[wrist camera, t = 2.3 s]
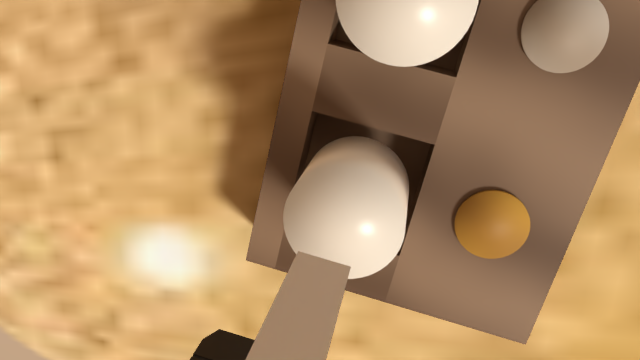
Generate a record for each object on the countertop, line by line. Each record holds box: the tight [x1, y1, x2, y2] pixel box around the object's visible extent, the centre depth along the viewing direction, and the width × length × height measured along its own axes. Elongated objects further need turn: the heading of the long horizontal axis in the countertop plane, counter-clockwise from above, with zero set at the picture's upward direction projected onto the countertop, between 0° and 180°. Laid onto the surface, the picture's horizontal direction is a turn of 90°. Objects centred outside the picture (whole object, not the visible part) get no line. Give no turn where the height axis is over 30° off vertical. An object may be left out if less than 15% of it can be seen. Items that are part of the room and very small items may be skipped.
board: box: [246, 0, 640, 344], centre depth 23 cm, size 26×13×3 cm, turn 167°
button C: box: [283, 136, 409, 279], centre depth 23 cm, size 4×4×4 cm
